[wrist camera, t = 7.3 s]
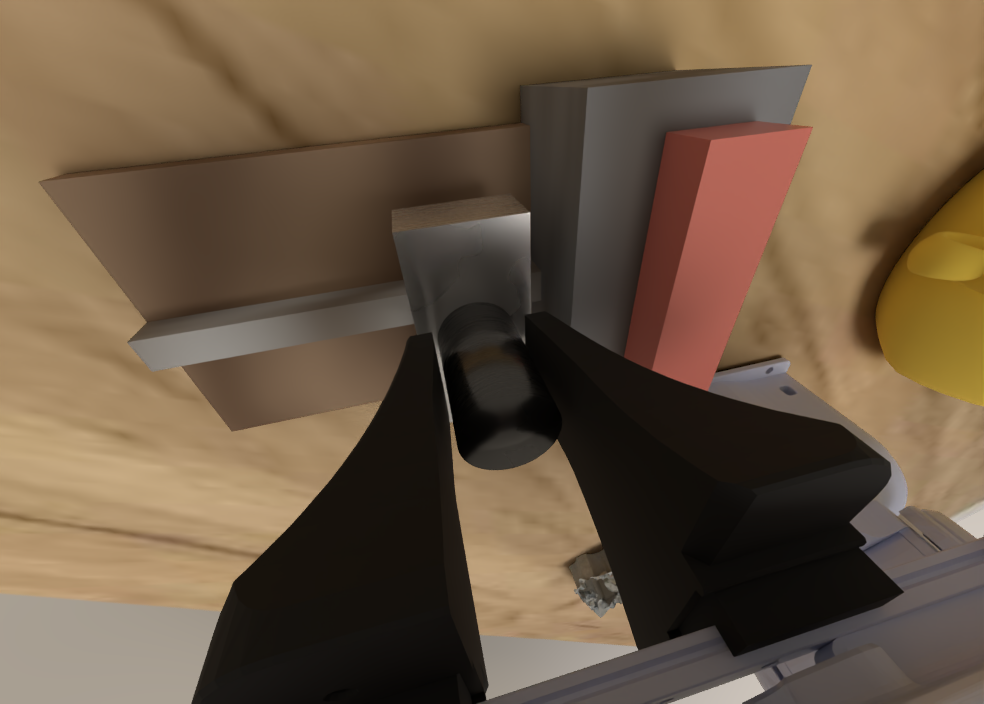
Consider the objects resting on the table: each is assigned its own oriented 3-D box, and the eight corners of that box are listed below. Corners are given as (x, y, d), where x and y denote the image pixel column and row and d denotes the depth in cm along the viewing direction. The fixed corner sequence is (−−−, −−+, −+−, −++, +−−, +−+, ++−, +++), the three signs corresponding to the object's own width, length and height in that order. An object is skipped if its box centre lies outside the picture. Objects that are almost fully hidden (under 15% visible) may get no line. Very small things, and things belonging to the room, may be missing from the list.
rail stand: (676, 70, 12) (811, 64, 8) (624, 351, 20) (682, 419, 16) (35, 133, 10) (-203, 168, 6) (249, 429, 17) (208, 533, 13)
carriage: (499, 184, 12) (602, 278, 6) (508, 352, 16) (574, 501, 10) (391, 198, 11) (393, 315, 6) (430, 368, 16) (454, 532, 10)
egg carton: (664, 510, 33) (694, 555, 30) (673, 539, 38) (700, 581, 35) (560, 559, 34) (578, 608, 31) (581, 581, 39) (599, 626, 36)
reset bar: (756, 121, 9) (813, 126, 8) (666, 408, 15) (690, 435, 14) (666, 132, 8) (711, 139, 7) (611, 421, 15) (631, 450, 13)
